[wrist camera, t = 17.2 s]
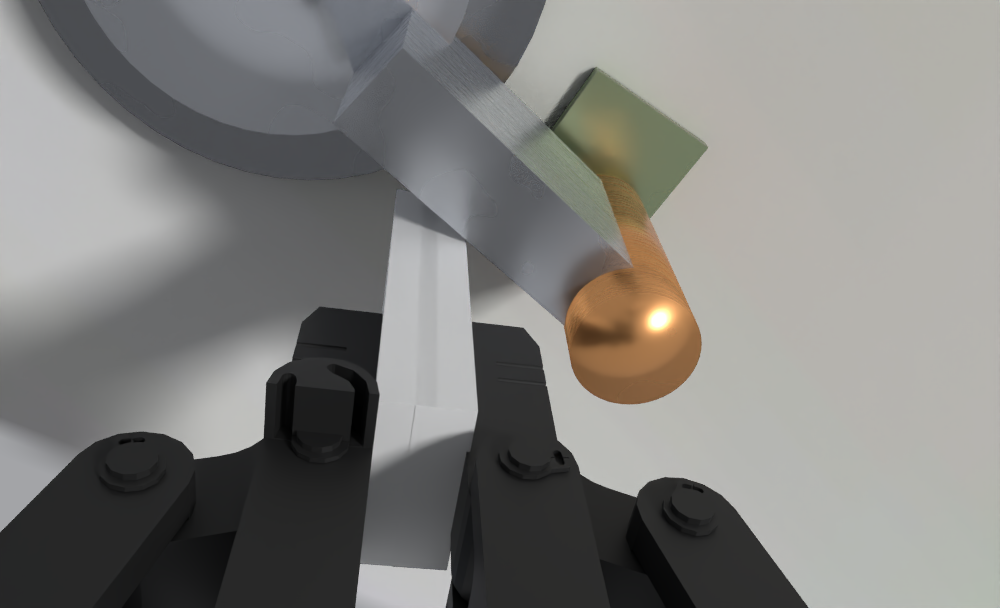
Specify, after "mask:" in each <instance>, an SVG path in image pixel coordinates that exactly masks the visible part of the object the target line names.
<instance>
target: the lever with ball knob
mask: <svg viewBox="0 0 1000 608" xmlns="http://www.w3.org/2000/svg"><path fill="white" fill-rule="evenodd" d="M84 1H85V3H86V5H87V6H88V8H89V10H90V12H91V13H92V15H93V17H94V19H95V20H96V21H97V23H98V24H99V26H100V27H101V28H102V30H103V31H104V33H105V34H106V35H107V37H108V38H109V40H110V41H111V42H112V43H113V45H114V46H115V47H116V48H117V49H118V50H119V51H120V52H121V54H122V55H123V56H124V57H125V58H126V59H127V60H128V61H129V63H130V64H131V65H133V66H134V67H135V68H136V69H137V70H138V71H139V72H140V73H141V74H143V75H144V76H145V77H146V78H147V79H148V80H149V81H150V82H151V83H153V84H154V85H156V86H157V87H158V88H160V89H161V90H162V91H164V92H165V93H167V94H168V95H169V96H171V97H172V98H173V99H175V100H177V101H179V102H180V103H182V104H184V105H186V106H187V107H189V108H191V109H193V110H194V111H196V112H198V113H201V114H203V115H205V116H208V117H210V118H212V119H215V120H217V121H219V122H222V123H225V124H228V125H232V126H235V127H238V128H242V129H245V130H250V131H256V132H262V133H267V134H279V135H306V134H319V133H324V132H329V131H334V130H341V131H342V132H343V133H344V134H345V135H346V136H347V137H349V138H350V139H351V140H352V141H353V142H354V143H355V144H357V145H358V146H359V147H360V148H361V149H362V150H363V151H365V152H366V153H367V154H368V155H369V156H370V157H372V158H373V159H374V160H375V161H376V162H377V163H378V164H380V165H381V166H382V167H383V168H384V169H385V170H386V171H388V172H389V173H390V174H391V175H392V176H393V177H394V178H396V179H397V180H398V181H399V182H400V183H401V184H402V185H404V186H405V187H406V188H407V189H408V190H409V191H411V192H412V193H413V194H414V195H415V196H416V197H417V198H419V199H420V200H421V201H422V202H423V203H424V204H425V205H427V206H428V207H429V208H430V209H431V210H432V211H433V212H435V213H436V214H437V215H438V216H439V217H440V218H442V219H443V220H444V221H445V222H446V223H447V224H448V225H450V226H451V227H452V228H453V229H454V230H455V231H456V232H458V233H459V234H460V235H461V236H462V237H463V238H464V239H466V240H467V241H468V242H469V243H470V244H471V245H472V246H474V247H475V248H476V249H477V250H478V251H479V252H481V253H482V254H483V255H484V256H485V257H486V258H487V259H489V260H490V261H491V262H492V263H493V264H494V265H495V266H497V267H498V268H499V269H500V270H501V271H502V272H503V273H505V274H506V275H507V276H508V277H509V278H510V279H511V280H513V281H514V282H515V283H516V284H517V285H518V286H520V287H521V288H522V289H523V290H524V291H525V292H526V293H528V294H529V295H530V296H531V297H532V298H533V299H534V300H536V301H537V302H538V303H539V304H540V305H541V306H542V307H544V308H545V309H546V310H547V311H548V312H549V313H551V314H552V315H553V316H554V317H555V318H556V319H557V320H559V321H560V322H561V323H562V324H563V325H564V329H565V334H566V339H567V344H568V350H569V355H570V360H571V365H572V369H573V371H574V374H575V376H576V378H577V379H578V381H579V382H580V383H581V385H582V386H583V387H584V388H585V389H586V390H588V391H589V392H590V393H592V394H593V395H595V396H597V397H599V398H601V399H603V400H606V401H609V402H613V403H619V404H640V403H646V402H650V401H653V400H656V399H659V398H661V397H664V396H665V395H667V394H669V393H671V392H672V391H674V390H675V389H677V388H678V387H679V386H680V385H682V384H683V383H684V382H685V381H686V380H687V378H688V377H689V376H690V375H691V373H692V372H693V370H694V369H695V367H696V365H697V363H698V360H699V357H700V353H701V334H700V330H699V327H698V325H697V323H696V321H695V318H694V316H693V314H692V312H691V310H690V307H689V305H688V303H687V301H686V299H685V296H684V294H683V292H682V290H681V287H680V285H679V283H678V281H677V279H676V276H675V274H674V272H673V270H672V268H671V265H670V263H669V261H668V259H667V256H666V254H665V252H664V250H663V248H662V245H661V243H660V241H659V239H658V236H657V234H656V232H655V230H654V228H653V225H652V223H651V221H650V219H649V217H648V214H647V212H646V210H645V208H644V205H643V203H642V201H641V199H640V197H639V195H638V194H637V192H636V191H635V190H634V189H633V188H632V187H631V186H630V185H629V184H627V183H626V182H624V181H623V180H621V179H619V178H616V177H613V176H609V175H600V174H595V173H594V172H593V171H592V170H591V169H590V168H589V167H588V166H587V165H586V164H585V163H584V162H583V161H582V160H581V159H580V158H579V157H578V156H577V155H576V154H575V153H574V152H573V151H572V150H571V149H570V148H569V147H568V146H567V145H566V144H565V143H564V142H563V141H562V140H561V139H560V138H559V137H558V136H557V135H556V134H555V133H554V132H553V131H552V130H551V129H550V128H549V127H548V126H547V125H545V124H544V123H543V122H542V121H541V120H540V119H539V118H538V117H537V116H536V115H535V114H534V113H533V112H532V111H531V110H530V109H529V108H528V107H527V106H526V105H525V104H524V103H523V102H522V101H521V100H520V99H519V98H518V97H517V96H516V95H515V94H514V93H513V92H512V91H511V90H510V89H509V88H508V87H507V86H506V85H505V84H504V83H503V82H502V81H501V80H500V79H499V78H498V77H497V76H496V75H495V74H494V73H493V72H492V71H491V70H490V69H489V68H488V67H487V66H486V65H485V64H484V63H483V62H482V61H481V60H480V59H479V58H478V57H477V56H476V55H475V54H474V53H473V52H472V51H471V50H470V49H469V48H468V47H467V46H466V45H465V44H464V43H463V42H462V41H461V40H460V39H459V38H458V37H457V36H456V33H457V31H458V28H459V26H460V24H461V22H462V20H463V17H464V15H465V12H466V9H467V5H468V2H469V0H84Z"/></svg>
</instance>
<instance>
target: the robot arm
mask: <svg viewBox="0 0 1000 608" xmlns="http://www.w3.org/2000/svg"><path fill="white" fill-rule="evenodd" d="M450 551H451V574H452V580H451V584H450V589H449V594H448V599H447V604H446V608H808V606H807V605H806V604H805V602H804V601H803V600H802V598H801V597H800V596H799V594H798V593H797V592H796V590H795V589H794V588H793V586H792V585H791V583H790V582H789V581H788V579H787V578H786V577H785V575H784V574H783V573H782V571H781V570H780V569H779V567H778V566H777V565H776V563H775V562H774V561H773V559H772V558H771V557H770V555H769V554H768V553H767V551H766V550H765V549H764V547H763V546H762V544H761V543H760V542H759V540H758V539H757V538H756V536H755V535H754V534H753V532H752V531H751V530H750V528H749V527H748V526H747V524H746V523H745V522H744V520H743V519H742V518H741V516H740V515H739V514H738V512H737V511H736V510H735V508H734V507H733V506H732V505H731V504H730V503H729V502H728V501H727V500H726V499H725V498H724V497H723V496H722V495H720V494H719V493H717V492H715V491H713V490H712V489H710V488H708V487H707V486H705V485H703V484H700V483H697V482H694V481H690V480H687V479H684V478H668V477H664V478H660V479H657V480H653V481H650V482H648V483H647V484H646V485H645V486H644V487H643V488H642V489H641V490H640V491H639V493H638V496H637V498H636V497H633V496H630V495H627V494H624V493H621V492H618V491H615V490H612V489H609V488H606V487H604V486H601V485H599V484H596V483H594V482H592V481H590V480H589V479H587V478H585V477H584V476H582V475H580V471H579V467H578V465H577V463H576V461H575V459H574V457H573V455H572V453H571V452H570V451H569V450H568V449H567V448H566V447H564V446H563V445H562V444H561V443H560V442H559V441H557V437H556V431H555V426H554V421H553V416H552V411H551V405H550V400H549V395H548V390H547V386H546V380H545V374H544V370H543V364H542V359H541V354H540V348H539V346H538V345H537V343H536V342H535V341H534V340H533V339H532V338H531V336H530V335H529V334H528V333H527V332H526V330H525V329H524V328H520V327H512V326H503V325H494V324H485V323H476V322H472V319H471V305H470V291H469V277H468V263H467V249H466V239H464V238H463V237H462V236H461V235H460V234H459V233H458V232H456V231H455V230H454V229H453V228H452V227H451V226H450V225H448V224H447V223H446V222H445V221H444V220H443V219H442V218H440V217H439V216H438V215H437V214H436V213H435V212H433V211H432V210H431V209H430V208H429V207H428V206H427V205H425V204H424V203H423V202H422V201H421V200H420V199H419V198H417V197H416V196H415V195H414V194H413V193H412V192H411V191H407V190H400V189H397V192H396V200H395V208H394V217H393V225H392V233H391V241H390V250H389V258H388V266H387V275H386V283H385V291H384V299H383V308H382V314H379V313H370V312H362V311H353V310H344V309H335V308H326V307H319V308H318V309H317V310H316V311H314V312H313V313H312V314H311V315H310V316H309V317H308V318H306V319H305V320H304V321H303V322H302V324H301V328H300V332H299V336H298V339H297V345H296V347H295V351H294V355H293V359H292V362H289V363H287V364H285V365H284V366H282V367H280V368H278V369H277V370H275V371H274V372H273V374H272V375H271V377H270V378H269V380H268V381H267V382H266V402H265V424H264V438H263V439H262V440H261V441H259V442H258V443H256V444H254V445H253V446H251V447H249V448H246V449H244V450H241V451H239V452H236V453H232V454H227V455H222V456H217V457H210V458H202V459H195V460H194V458H193V454H192V453H191V452H190V450H189V449H188V448H187V447H186V446H185V445H184V444H183V443H182V442H180V441H178V440H176V439H173V438H171V437H169V436H167V435H164V434H157V433H149V432H133V433H124V434H117V435H114V436H111V437H109V438H106V439H103V440H100V441H97V442H95V443H94V444H92V445H91V446H89V447H88V448H87V449H85V450H84V451H82V452H81V453H80V454H78V455H77V456H76V457H75V458H74V459H73V460H72V461H71V462H70V463H69V464H68V465H67V466H66V467H65V468H64V469H63V470H62V471H61V472H60V473H59V474H58V475H57V476H56V477H55V478H54V479H53V480H52V481H51V482H50V483H49V484H48V485H47V486H46V487H45V488H44V489H43V490H42V491H41V492H40V493H39V494H38V495H37V496H36V497H35V498H34V499H33V500H32V501H31V502H30V503H29V504H28V505H27V506H26V507H25V508H24V509H23V510H22V511H21V512H20V513H19V514H18V515H17V516H16V517H15V518H14V519H13V520H12V521H11V522H10V523H9V524H8V525H7V526H6V527H5V528H4V529H3V530H2V531H1V532H0V608H355V603H356V594H357V585H358V576H359V567H360V564H371V565H385V566H393V567H407V568H421V569H435V570H447V566H448V561H449V556H450Z"/></svg>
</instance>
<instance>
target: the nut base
mask: <svg viewBox="0 0 1000 608" xmlns="http://www.w3.org/2000/svg"><path fill="white" fill-rule="evenodd" d="M39 2H40V4H41V5H42V7H43V9H44V11H45V13H46V14H47V16H48V18H49V20H50V21H51V23H52V25H53V27H54V28H55V30H56V31H57V32H58V34H59V35H60V37H61V38H62V39H63V41H64V42H65V44H66V45H67V46H68V48H69V49H70V51H71V52H72V53H73V55H74V56H75V58H76V59H77V60H78V61H79V62H80V63H81V64H82V66H83V67H84V68H85V69H86V70H87V71H88V72H89V73H90V75H91V76H92V77H93V78H94V79H95V80H96V81H97V83H98V84H99V85H100V86H101V87H102V88H103V89H104V90H106V91H107V92H108V93H109V94H110V95H111V96H112V97H113V98H114V99H115V100H117V101H118V102H119V103H120V104H121V105H122V106H123V107H124V108H125V109H126V110H128V111H129V112H130V113H132V114H133V115H134V116H136V117H137V118H138V119H140V120H141V121H142V122H144V123H145V124H147V125H148V126H149V127H151V128H152V129H153V130H155V131H156V132H158V133H160V134H161V135H163V136H165V137H167V138H168V139H170V140H172V141H173V142H175V143H177V144H179V145H180V146H182V147H184V148H186V149H188V150H190V151H192V152H195V153H197V154H199V155H201V156H204V157H206V158H208V159H210V160H213V161H215V162H218V163H221V164H224V165H227V166H230V167H233V168H237V169H240V170H243V171H246V172H251V173H256V174H261V175H266V176H272V177H277V178H288V179H302V180H320V179H340V178H346V177H352V176H357V175H363V174H369V173H373V172H376V171H379V170H382V169H384V168H383V167H382V166H381V165H380V164H378V163H377V162H376V161H375V160H374V159H373V158H372V157H370V156H369V155H368V154H367V153H366V152H365V151H363V150H362V149H361V148H360V147H359V146H358V145H357V144H355V143H354V142H353V141H352V140H351V139H350V138H349V137H347V136H346V135H345V134H344V133H343V132H342V131H341V130H334V131H329V132H324V133H319V134H306V135H279V134H267V133H262V132H256V131H250V130H245V129H242V128H238V127H235V126H232V125H228V124H225V123H222V122H219V121H217V120H215V119H212V118H210V117H208V116H205V115H203V114H201V113H198V112H196V111H194V110H193V109H191V108H189V107H187V106H186V105H184V104H182V103H180V102H179V101H177V100H175V99H173V98H172V97H171V96H169V95H168V94H167V93H165V92H164V91H162V90H161V89H160V88H158V87H157V86H156V85H154V84H153V83H151V82H150V81H149V80H148V79H147V78H146V77H145V76H144V75H143V74H141V73H140V72H139V71H138V70H137V69H136V68H135V67H134V66H133V65H131V64H130V63H129V61H128V60H127V59H126V58H125V57H124V56H123V55H122V54H121V52H120V51H119V50H118V49H117V48H116V47H115V46H114V45H113V43H112V42H111V41H110V40H109V38H108V37H107V35H106V34H105V33H104V31H103V30H102V28H101V27H100V26H99V24H98V23H97V21H96V20H95V19H94V17H93V15H92V13H91V12H90V10H89V8H88V6H87V5H86V3H85V1H84V0H39ZM545 2H546V0H469V2H468V5H467V9H466V12H465V15H464V17H463V20H462V22H461V24H460V26H459V28H458V31H457V33H456V36H457V37H458V38H459V39H460V40H461V41H462V42H463V43H464V44H465V45H466V46H467V47H468V48H469V49H470V50H471V51H472V52H473V53H474V54H475V55H476V56H477V57H478V58H479V59H480V60H481V61H482V62H483V63H484V64H485V65H486V66H487V67H488V68H489V69H490V70H491V71H492V72H493V73H494V74H495V75H496V76H497V77H498V78H499V79H500V80H501V81H502V82H503V83H505V82H506V80H507V79H508V78H509V76H510V75H511V73H512V72H513V70H514V69H515V68H516V66H517V65H518V63H519V61H520V59H521V57H522V55H523V53H524V51H525V50H526V48H527V46H528V44H529V42H530V40H531V38H532V36H533V34H534V31H535V29H536V26H537V23H538V21H539V18H540V15H541V13H542V10H543V8H544V5H545ZM551 130H552V131H553V132H554V133H555V134H556V135H557V136H558V137H559V138H560V139H561V140H562V141H563V142H564V143H565V144H566V145H567V146H568V147H569V148H570V149H571V150H572V151H573V152H574V153H575V154H576V155H577V156H578V157H579V158H580V159H581V160H582V161H583V162H584V163H585V164H586V165H587V166H588V167H589V168H590V169H591V170H592V171H593V172H594V173H595V174H600V175H609V176H613V177H616V178H619V179H621V180H623V181H624V182H626V183H627V184H629V185H630V186H631V187H632V188H633V189H634V190H635V191H636V192H637V194H638V195H639V197H640V199H641V201H642V203H643V205H644V208H645V210H646V212H647V214H648V217H649V218H651V217H652V215H653V214H654V213H655V212H656V211H657V209H658V208H659V207H660V206H661V204H662V203H663V202H664V201H665V200H666V198H667V197H668V196H669V195H670V193H671V192H672V191H673V190H674V189H675V187H676V186H677V185H678V184H679V183H680V181H681V180H682V179H683V178H684V176H685V175H686V174H687V173H688V172H689V170H690V169H691V168H692V167H693V165H694V164H695V163H696V162H697V161H698V159H699V158H700V157H701V156H702V155H703V153H704V152H705V151H706V150H707V148H708V147H707V145H706V144H705V143H704V142H703V141H701V140H700V139H698V138H697V137H696V136H694V135H693V134H691V133H690V132H688V131H687V130H686V129H684V128H683V127H681V126H680V125H678V124H677V123H676V122H674V121H673V120H671V119H670V118H668V117H667V116H666V115H664V114H663V113H661V112H660V111H658V110H657V109H656V108H654V107H653V106H651V105H650V104H648V103H647V102H646V101H644V100H643V99H641V98H640V97H638V96H637V95H636V94H634V93H633V92H631V91H630V90H628V89H627V88H626V87H624V86H623V85H621V84H620V83H618V82H617V81H616V80H614V79H613V78H611V77H610V76H608V75H607V74H606V73H604V72H603V71H601V70H600V69H598V68H597V67H596V68H595V69H594V70H593V72H592V73H591V75H590V76H589V77H588V79H587V80H586V82H585V83H584V84H583V86H582V87H581V88H580V90H579V91H578V93H577V94H576V95H575V97H574V98H573V100H572V101H571V102H570V104H569V105H568V106H567V108H566V109H565V111H564V112H563V113H562V115H561V116H560V117H559V119H558V120H557V122H556V123H555V124H554V126H553V127H552V129H551Z"/></svg>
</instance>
